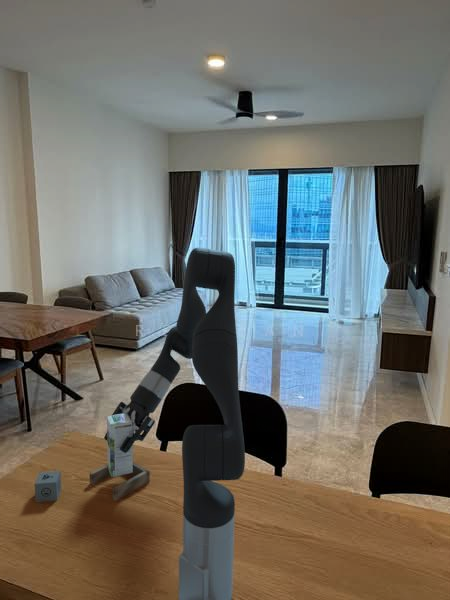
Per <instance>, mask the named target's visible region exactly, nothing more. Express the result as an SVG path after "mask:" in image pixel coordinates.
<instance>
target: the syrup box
mask: <svg viewBox="0 0 450 600" xmlns="http://www.w3.org/2000/svg"><path fill="white" fill-rule="evenodd" d="M106 428H107V429H106V433H107V440H106V443H107V444H106V445H107V448H106V452H107V455H106V456H107V464H108V469H109V472H110V475H111V476H110V477H111V478H116V477H120V476H123V475H124V476H125V475H128V474H131V473H132V472H133V462H134V461H133V459H134V458H133V457H134V455H133V453H134V451H133V445H132V446H131V448H130V450H129V451H128V452H127V453H124V452H122V451H121V450H120V447H121V445H122V444H123V442H124V441H125V439H126V438H127V436H128V437H129V433H130V431H131V430H132V421H131V419H130V417H129V415H128V414H117V415H112V414H111V415H108V416H107V417H106Z"/></svg>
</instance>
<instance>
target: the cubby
mask: <svg viewBox="0 0 450 600" xmlns="http://www.w3.org/2000/svg"><path fill="white" fill-rule="evenodd" d="M130 474H131V476H132V475H133V477H130V478H129V479H127V480H126V481H124V482H122V483H120V484H118V485H116V486H115V487H113V488H112V500H114V501H115V502H116V501H118V500H120V499H122V498H123V497H124V496H127V495H129V494H130V493H132V492H133V491H135V490H138V489H139V488H141V487H143V486H144V485H146V484H148V483H149V482H150V479H151V478H150V470H149V469H147V468H145V467H143V466H141V465H140V464H138V463H136V462H134V461H133V472H132V473H130ZM108 477H111V475H110V472H109V469H108V463H107V464H105V465H103V466H102V467H100V468H98V469H95V470H93V471H91V472H89V484H90V485H91V486H93V485H95V484H97V483H98V482H101V481H103V480H104V479H107V478H108Z"/></svg>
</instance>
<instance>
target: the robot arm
mask: <svg viewBox="0 0 450 600" xmlns="http://www.w3.org/2000/svg"><path fill="white" fill-rule="evenodd" d="M235 287H236V261H235V257H234V256H233V254H232V253H230V252H228V251H225V250H218V249H212V248H205V247H194V248H193V249H191V251H190V253H189V254H188V258H187V261H186V266H185V273H184V282H183V287H182V299H181V305H180V310H179V315H178V318H177V320H176V325H175V326H173V327H171V328H170V329H169V331H168V332H167V334H166V337H165V340H164V343H163V347H162V349H161V350H160V353H159V356H158V358H157V359H156V361H155V362H154V363H153V365H152V366H151V368H150V369H149V370H148V372H147V373H146V374H145V375H144V377H142V379H141V380H140V383H139V384H138V385H137V387H136V388H135V390H134V391H133V392H132V394H131V396H130V397H129V398H130V402H129V403H128V404H126V403H125V402H123V401H120V402H119V404H118V406H116V408H115V409H114V412H113V413H112V414H111V416H112V415H117V414H128V415H129V417H130V419H131V421H132V430H131V431H130V433H129V437H128V436H127V438H126V439H125V441H124V442H123V444H122V445H121V447H120V450H121V451H122V452H124V453H127V452H128V451H129V450H130V448H131V446H132V447H133V445H134V443H135V442H136V441H140V442H143V441H144V439H146V437H147V435H148V434H149V433H150V431H151V429H152V428H153V426H154V425H155V424H156V420H154V418H152V417H150V414H154V412H155V411H156V409H157V408H158V406H159V405H160V403H161V402H162V400H164V397H165V396H166V395H167V393H168V391H169V388H170V386H171V385H172V384H173V381H174V380H175V379H176V377H177V375H178V374H179V372H180V371H181V365H180V363H179V362H178V361H177V360H176V359H175V358H174V357H173V356H172V353H171V352H172V351H173V352H175V353H176V354H178V355H180V356H182V357H183V358H185V359H187V360H191V361H192V365H193V367H194V370H195V372H196V373H197V375H198V376H199V378H200V379H201V381H202V382H203V383H204V385H205V387H206V388H207V389H208V390H209V392H210V394H211V395H212V396H213V398H214V400H215V402H216V404H217V406H218V408H219V411H220V413H221V416H222V420H223V422H224V423H223V424H191V425H188V426H187V427H186V429H185V430H184V432H183V436H182V441H181V442H182V444H181V458H182V475H183V477H182V478H183V503H182V506H183V507H182V509H183V510H182V512H183V513H182V514H183V515H182V516H183V517H182V553H180V554H179V556H178V600H232V598H233V581H234V580H233V579H234V578H233V576H234V543H235V542H234V541H235V539H234V538H235V533H234V532H235V510H236V509H235V505H236V504H235V497H234V494H233V492H232V491H231V490H230V489H229V488H227V487H226V486H224V485H222V484H221V483H218V482H216V481H236V480H239V479H241V477H243V474H244V472H245V467H246V449H245V439H244V431H243V430H244V429H243V422H242V412H241V403H240V402H241V401H240V391H239V359H238V358H239V357H238V355H239V354H238V353H239V351H238V338H237V335H238V334H237V324H236V311H235V308H236V307H235V296H236V295H235V294H236V291H235V289H236V288H235ZM197 288H200V289H205V290H206V289H207V290H215V291H218V296H217V298H216V300H215V302H214V303H213V305H212V306H211V307H210V308H209V309H208V311H207V309H206V306H205V304H204V302H203V300H202V298H201V297H200V295H199V293H198V289H197ZM103 440H105V441H107V432H105V434H104V437H103Z"/></svg>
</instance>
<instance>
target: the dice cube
mask: <svg viewBox="0 0 450 600" xmlns="http://www.w3.org/2000/svg"><path fill="white" fill-rule="evenodd" d="M61 476H62V475H61V470H51V471H41V472H39V473H38V475H37V478H36V481H35V483H34V492H35V493H34V494H35V503H43V502H53V501H54V502H55V501H58V499H59V496H60V493H61V490H62V479H61Z"/></svg>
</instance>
